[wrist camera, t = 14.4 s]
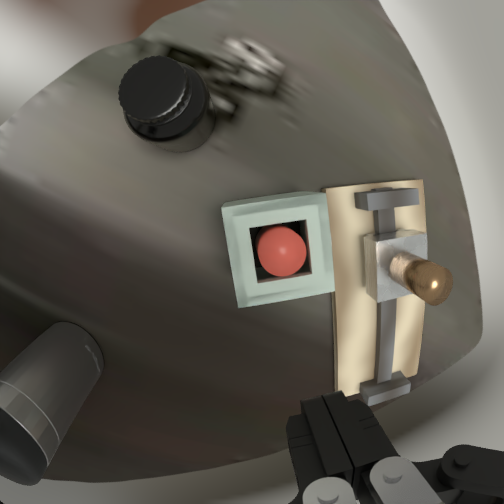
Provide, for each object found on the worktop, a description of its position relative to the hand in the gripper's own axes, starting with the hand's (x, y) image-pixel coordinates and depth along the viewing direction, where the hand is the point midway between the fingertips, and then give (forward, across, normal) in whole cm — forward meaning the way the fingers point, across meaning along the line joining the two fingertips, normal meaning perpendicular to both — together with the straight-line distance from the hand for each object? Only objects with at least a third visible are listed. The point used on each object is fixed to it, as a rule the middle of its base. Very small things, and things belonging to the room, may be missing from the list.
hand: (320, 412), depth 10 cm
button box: (+22, -2, -3) cm, 23 cm away
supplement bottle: (+23, +5, -16) cm, 28 cm away
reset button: (+18, -1, -3) cm, 18 cm away
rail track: (+22, -13, +6) cm, 27 cm away
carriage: (+20, -13, +1) cm, 24 cm away
